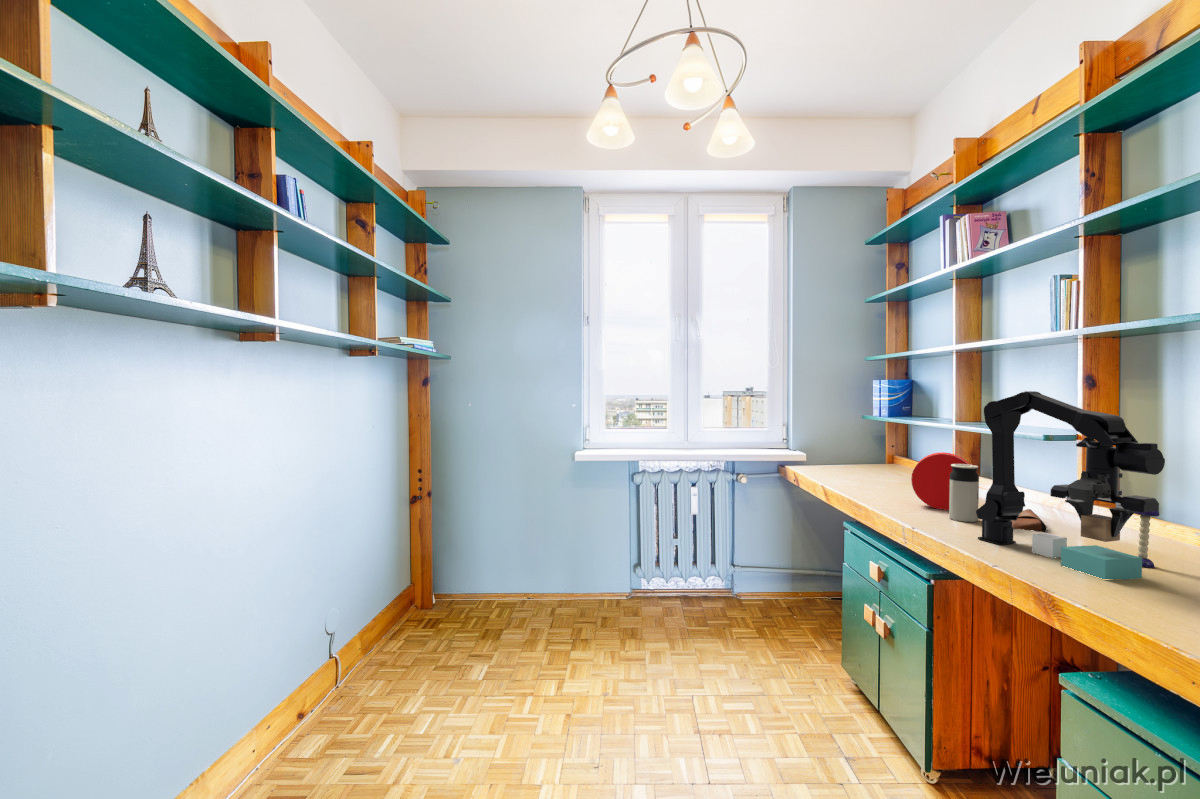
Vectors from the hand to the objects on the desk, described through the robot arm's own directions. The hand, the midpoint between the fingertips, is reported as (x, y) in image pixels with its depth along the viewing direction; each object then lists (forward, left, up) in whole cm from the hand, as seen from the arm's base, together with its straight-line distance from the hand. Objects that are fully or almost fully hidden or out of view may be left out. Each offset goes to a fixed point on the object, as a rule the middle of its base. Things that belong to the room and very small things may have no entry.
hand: (1100, 533), depth 128 cm
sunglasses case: (-38, +30, -10) cm, 49 cm away
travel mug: (-48, +17, -9) cm, 52 cm away
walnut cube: (0, 0, -1) cm, 1 cm away
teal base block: (0, 0, -9) cm, 9 cm away
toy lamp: (0, +16, -9) cm, 18 cm away
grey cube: (-13, +3, -9) cm, 16 cm away
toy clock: (-63, +26, -9) cm, 69 cm away
